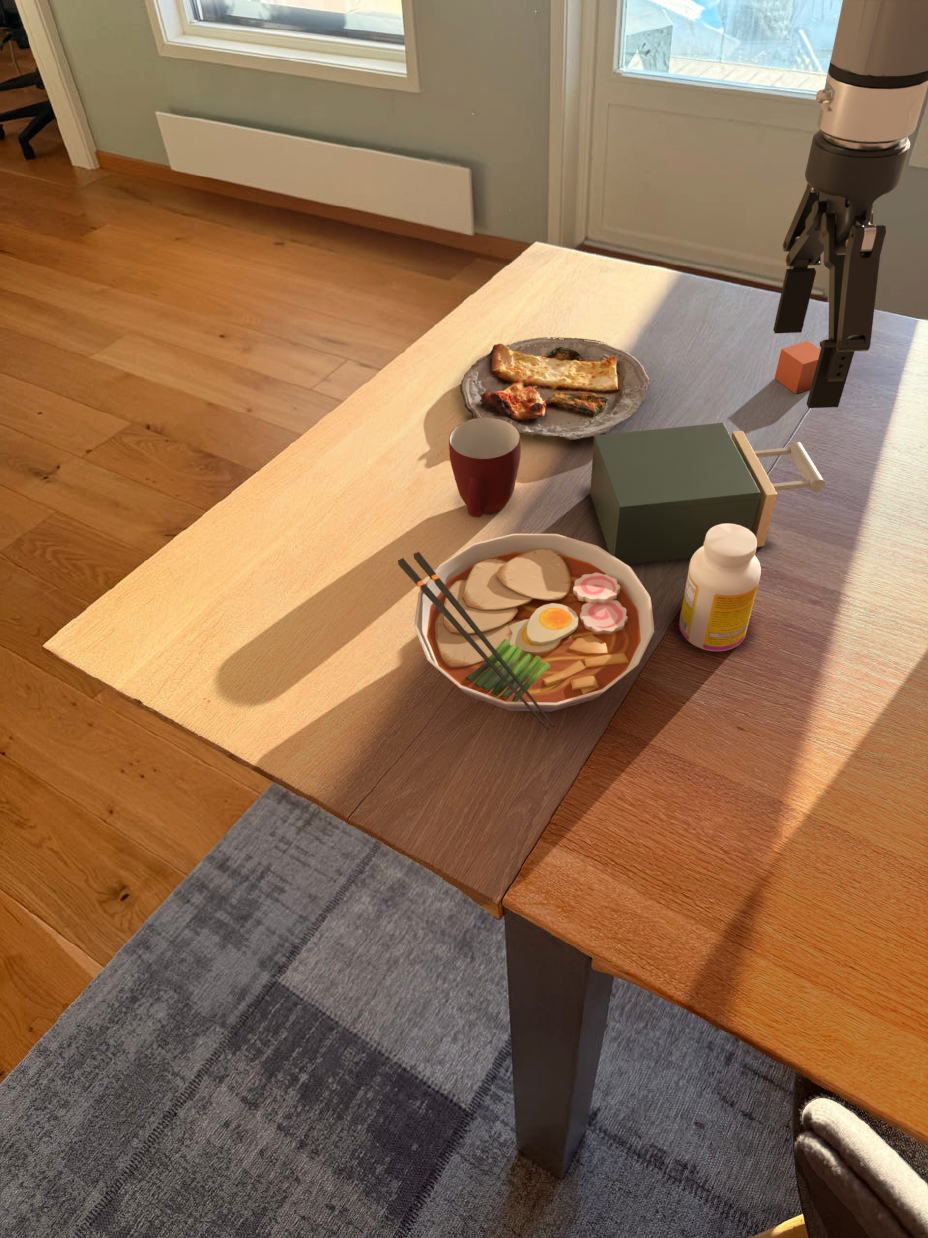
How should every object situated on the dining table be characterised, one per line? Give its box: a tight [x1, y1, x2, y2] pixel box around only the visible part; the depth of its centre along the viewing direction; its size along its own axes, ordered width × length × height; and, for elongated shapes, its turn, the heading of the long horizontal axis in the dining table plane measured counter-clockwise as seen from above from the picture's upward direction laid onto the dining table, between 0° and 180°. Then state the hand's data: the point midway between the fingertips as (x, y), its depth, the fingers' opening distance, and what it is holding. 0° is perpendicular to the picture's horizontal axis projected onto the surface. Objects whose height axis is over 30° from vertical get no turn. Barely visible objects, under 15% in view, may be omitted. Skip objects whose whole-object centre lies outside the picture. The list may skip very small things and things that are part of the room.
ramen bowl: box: [397, 533, 655, 730], centre depth 88 cm, size 25×23×8 cm
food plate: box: [459, 336, 651, 441], centre depth 123 cm, size 25×23×4 cm
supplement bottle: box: [678, 524, 762, 652], centre depth 88 cm, size 7×7×13 cm
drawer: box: [731, 430, 826, 548], centre depth 101 cm, size 20×12×7 cm, turn 96°
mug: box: [448, 417, 522, 518], centre depth 104 cm, size 10×8×10 cm
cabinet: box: [589, 422, 760, 565], centre depth 101 cm, size 15×13×9 cm
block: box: [774, 340, 821, 395], centre depth 122 cm, size 4×4×4 cm
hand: (803, 366), depth 89 cm, fingers open, 13 cm apart
